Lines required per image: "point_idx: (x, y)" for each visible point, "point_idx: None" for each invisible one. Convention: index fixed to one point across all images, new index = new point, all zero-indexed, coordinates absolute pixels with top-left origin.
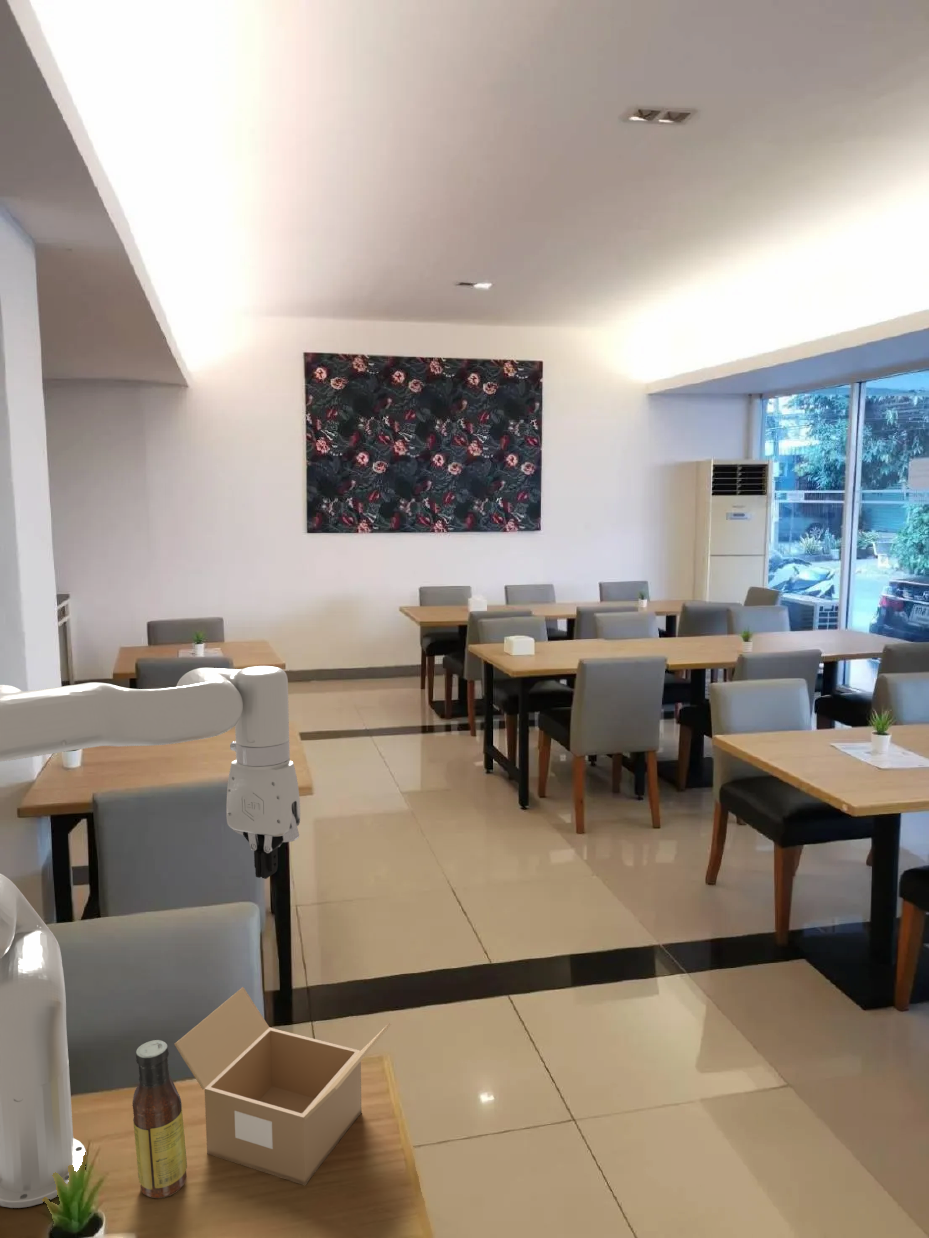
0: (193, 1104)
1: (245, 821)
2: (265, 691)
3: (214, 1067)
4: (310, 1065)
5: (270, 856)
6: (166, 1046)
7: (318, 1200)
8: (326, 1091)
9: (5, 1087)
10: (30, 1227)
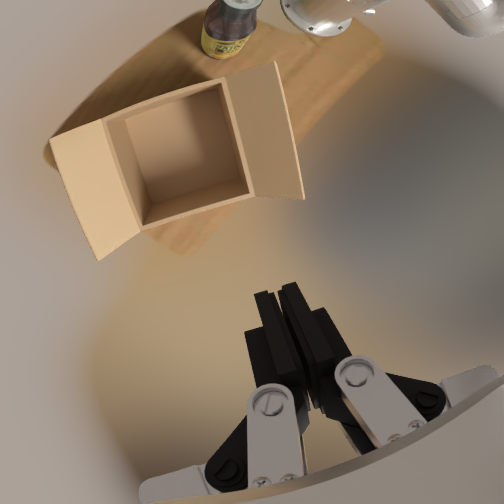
0: None
1: (459, 492)
2: None
3: (238, 99)
4: (197, 199)
5: (259, 377)
6: (228, 3)
7: (102, 115)
8: (104, 156)
9: None
10: None
